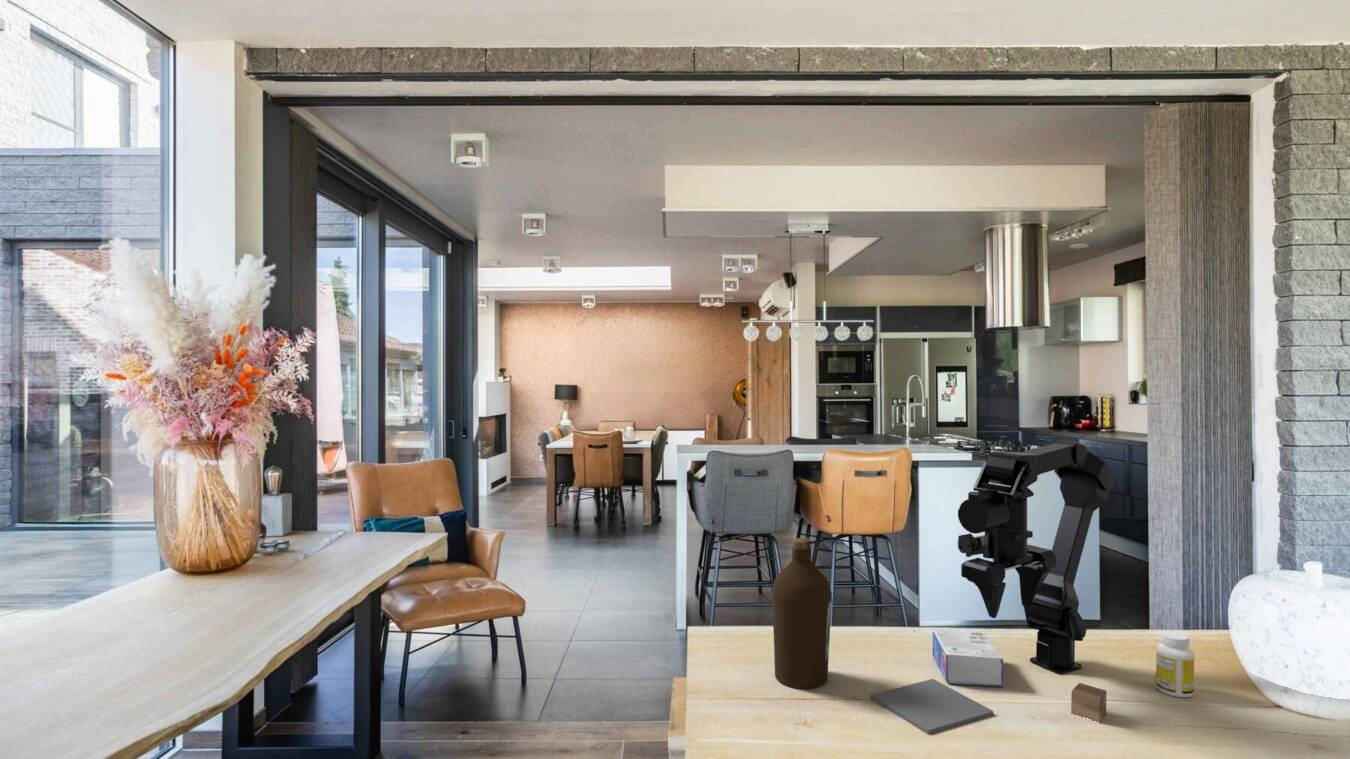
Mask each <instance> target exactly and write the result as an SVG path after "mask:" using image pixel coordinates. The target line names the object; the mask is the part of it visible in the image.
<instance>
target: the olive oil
mask: <svg viewBox="0 0 1350 759" xmlns="http://www.w3.org/2000/svg"><path fill="white" fill-rule="evenodd" d="M792 544H793V546H791V548H792V549H791V552H792V553H791V556H792V558H791V559H792V560H790V562H789V563H788V564H787V565H786V566H785V567H784V568H783V569H782V570H781V571H780V572H779V573H778V574H777V575H776V577H775V578H774V581H773V584H772V587H771V588H772V589H771V607H772V608H771V609H772V627H773V650H774V652H773V654H774V677H775V679H776V681H778V682H779V683H781V684H783V685H784V686H786V687H790V688H794V689H801V690H808V689H811V690H812V689H817V688H820V687H822V686H824V685H825V684H826V683H827V682H828V679H829V654H830V636H831V635H830V634H831V619H832V617H831V616H832V603H833V602H832V601H833V596H832V589H831V588H832V587H831V586H830V583H829V581H828V579H827V577H826V576H825V574H824V573H822V572H821V570H819V568H818V567H817V566H816V565H815V563H813V561H812V547H811V544H812V541H811V539H810V538H805V537H796V538H793V539H792Z"/></svg>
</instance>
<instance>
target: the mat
mask: <svg viewBox="0 0 1350 759" xmlns="http://www.w3.org/2000/svg"><path fill="white" fill-rule="evenodd" d="M870 699H871V700H874V701H875V702H876V703H877V704H879V705H881V706H883V707H884V708H886V709H888V710H889V711H891V712H892V713H894V714H895V715H897V716H899V717H900V718H901V719H904V720H905V721H906V722H908V723H910V724H911V725H912V726H914V727H916V728H917V729H919V730H920V731H922V732H924V733H926V734H927V735H929V734H933V733H936V732H937V733H938V732H940V731H943V730H946V729H949V728H954V727H957V726H959V725H963V724H966V723H967V724H968V723H970V722H973V721H977V720H981V719H983V718H987V717H990V716H993V715H994V710H992V709H991V708H989V707H987V706H985V705H983V704H981V703H980V702H978V701H975V700H974V699H971V698H970V697H968V696H966V695H964V694H962V693H960V692H958V691H956V690H955V689H954V688H951V687H950V686H947V685H945V684H944V683H942V682H940V681H938V680H936V679H934V678H931V679H926V680H923V681H919V682H916V683H912V684H907V685H903V686H900V687H895V688H891V689H887V690H884V691H879V692H876V693H872V694H870Z"/></svg>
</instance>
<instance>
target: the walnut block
mask: <svg viewBox="0 0 1350 759" xmlns="http://www.w3.org/2000/svg"><path fill="white" fill-rule="evenodd" d="M1107 692H1108V691H1107V689H1103V688H1098V687H1095V686H1092V685H1089V684H1085V683H1081V682H1079V683H1078V684H1077V685H1075V687H1073V689H1072V690H1071V700H1070V701H1071V705H1070V706H1071V710H1070V711H1071V712H1070V715H1071V714H1074V715H1078V716H1081V717H1085V718H1088V719H1091V720H1092V721H1091V722H1093V721H1096V722H1100V723H1101V722H1102V720H1103V719H1104V718H1105V716H1106V715H1107V694H1108V693H1107ZM1074 715H1073V716H1074ZM1096 722H1095V723H1096Z"/></svg>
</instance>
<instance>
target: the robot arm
mask: <svg viewBox="0 0 1350 759" xmlns="http://www.w3.org/2000/svg"><path fill="white" fill-rule="evenodd" d="M1053 471H1054V473H1055V475H1057V477H1058V479H1059V480H1060V483H1059V490H1060V493H1061V496H1062V499H1063V500H1064V506H1063V509H1062V512H1061V516H1060V520H1059V522H1058V527H1057V530H1056V534H1055V537H1054V540H1053V545H1052V546H1051V547H1052V548H1051V549H1048V548H1045V547H1040V546H1036V545H1031V544H1028V539H1030V538H1033V537H1034V536H1033V534H1034V533H1033V532H1034V531H1033V530H1028V498H1031V497H1034V495H1035V493H1034V491H1033V490H1031V489H1030V488H1029V486H1031V485H1033V484H1034V483H1036V482H1037V481H1038V478H1039V477H1038V476H1040V475H1041V474H1044V473H1046V474H1047V473H1049V472H1053ZM1114 484H1115V476H1114V474H1113V472H1112V470H1111V469H1110V468H1109V467H1108V465H1107V464H1106V462H1105V461H1104V460H1102V459H1101V458H1099V457H1098V456H1096V455H1094V454H1093V453H1092V452H1091V451H1089V450H1088V448H1087V447H1086V445H1084V444H1082V443H1080V442H1073V441H1064V440H1058V441H1054V442H1053V443H1052V444H1048V445H1044V446H1041V447H1037V448H1032V449H1029V450H1026V451H1021V452H1018V451H1003V450H1002V451H999V450H997V451H995V450H994V451H992V452H990V453H989V454H988V455H987V458H985V460H984V462H983V465H982V467H981V469H980V472H979V474H978V476H977V478H976V481H975V483H974V485H973V488H972V489H973V491H969V492H968V494H967V496H968V498H967V499H966V500H963V502H961V503H960V505H959V507H958V510H957V517H958V518H957V519H958V520H959V523H960V525H961V526H962V527H963V529H964V530H965V531H967V532H969V533H965V534H959V535H958V538H957V549H958V550H959V552H960V553H961V554H965V557H966V558H970V557H972V556H976V555H978V556H979V555H982V558H981V557H976V558H972V559H968V560H965V561H964V562H962V564H960V575H961V577H962V578H964V579H966V580H967V581H968V582H971V583H973V584H974V585H975V586H976V587H977V589H978V590H979V593H980V595H981V598H982V600H983V603H984V605H985V609H986V611H987V614H988V616H989V618H992V619H996V618H997V616H998V614H999V610H1000V608H1001V603H1002V600H1003V597H1004V593H1005V589H1006V585H1007V583H1006V582H1004V581H1005V580H1004V579H1005V578H1006V571H1009V570H1012V569H1015V570H1016V572H1017V575H1018V578H1019V588H1020V589H1019V590H1020V591H1019V592H1020V599H1021V601H1020V602H1021V605H1022V607H1023V610H1024V615H1025V620H1026V625H1027V627H1028V628H1029V629H1034V630H1036V631H1037V633H1036V634H1037V636H1036V638H1037V639H1036V642H1035V643H1036V644H1035V645H1036V646H1035V650H1036V651H1035V656H1032V657H1030V658H1029V661H1030V662H1032V663H1034V664H1035V665H1038V666H1040V667H1043V668H1045V669H1047V670H1049V671H1052V672H1054V673H1055V674H1056V673H1057V674H1059V675H1060V674H1061V675H1062V674H1064V673H1068V672H1069V673H1070V672H1072V671H1075V670H1079V669H1082V668H1083V664H1082V663H1079V662H1077V661H1075V660H1076V659H1075V656H1076V655H1075V654H1076V652H1075V648H1076V647H1075V646H1076V642H1083V641H1084V638H1085V637H1086V634H1087V629H1088V625H1087V623H1086V621H1084V619H1083V617H1082V616H1081V614H1080V612H1078V611H1079V605H1080V601H1079V598H1078V595H1077V592H1076V589H1075V586H1074V585H1075V580H1076V577H1077V573H1078V570H1079V565H1080V561H1081V559H1082V555H1083V551H1084V547H1085V544H1086V540H1087V536H1088V533H1089V530H1090V529H1089V528H1090V526H1091V522H1092V518H1093V515H1094V512H1095V511H1097V509H1099V508H1100V507H1101V506H1103V504H1104V503H1106V502H1107V500H1108V497H1109V495H1110V492H1111V490H1112V489H1113V487H1114ZM981 533H984V534H983V535H977V536H974V535H973V534H981ZM984 558H985V559H984ZM987 559H992V561H991V560H987Z"/></svg>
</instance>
